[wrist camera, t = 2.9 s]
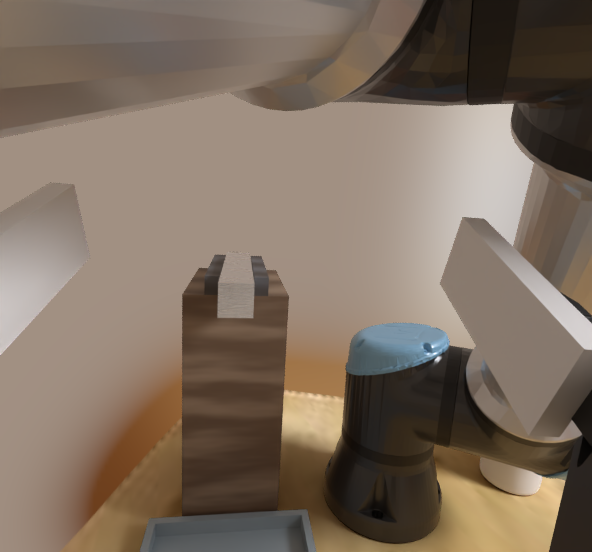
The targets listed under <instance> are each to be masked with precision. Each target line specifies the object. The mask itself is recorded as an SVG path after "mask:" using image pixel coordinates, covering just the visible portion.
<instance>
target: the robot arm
mask: <svg viewBox="0 0 592 552" xmlns="http://www.w3.org/2000/svg"><path fill="white" fill-rule="evenodd" d="M229 92H230V93H231V94H233V95H234V96H236V97H238V98H240V99H242V100H244V101H246V102H248V103H250V104H253V105H257V106H260V107H263V108H267V109H272V110H282V111H295V110H305V109H310V108H314V107H319V106H321V105H324V104H327V103H330V102H370V103H391V104H413V105H436V106H447V105H467V104H469V105H483V104H514V107H513V112H512V117H511V132H512V136H513V139H514V141H515V143H516V144H517V146H518V147H519V148H520V150H521V151H522V152H523V153H524V154H525V155H526V156H527V157H528V158H529V159H530V160H532V161H533V162H534V165H533V169H532V173H531V177H530V181H529V185H528V189H527V193H526V197H525V201H524V205H523V209H522V213H521V217H520V221H519V225H518V229H517V233H516V237H515V241H514V245H513V246H511V245H510V244H509V243H508V242H507V241H506V240H505V239H504V238H503V237H502V236H501V235H500V234H499V233H498V232H497V231H496V230H495V229H494V228H493V227H492V226H491V225H490V224H489V223H488V222H487V221H486V220H485V219H479V218H467V217H463V218H462V220H461V224H460V227H459V229H458V232H457V235H456V238H455V241H454V244H453V247H452V250H451V253H450V256H449V259H448V262H447V265H446V267H445V270H444V273H443V276H442V279H441V282H440V285H441V286H442V288H443V290H444V291H445V293H446V295H447V296H448V298H449V300H450V302H451V303H452V305H453V307H454V308H455V310H456V312H457V314H458V315H459V317H460V319H461V321H462V322H463V324H464V326H465V327H466V329H467V331H468V332H469V334H470V336H471V338H472V339H473V341H474V343H475V344H476V347H475V348H474V349H467V348H460V347H455V346H450V345H449V342H450V341H449V339H448V336H447V334H446V333H445V332H444V331H442V330H440V329H438V328H433V327H431V326H428V325H422V324H414V323H388V324H381V325H375V326H371V327H368V328H365V329H363V330H361V331H359V332H358V333H357V334H356V335H355V336H354V337H353V338H352V340H351V343H350V350H349V356H348V362H347V363H346V385H345V397H344V410H343V423H342V434H341V437H340V439H339V441H338V444H337V446H336V449H335V452H334V455H333V456H332V458H331V459H330V461H329V463H328V465H327V468H326V472H325V481H324V494H325V498H326V501H327V503H328V505H329V507H330V509H331V510H332V512H333V513H334V514H335V516H336V517H337V518H338V519H339V520H340V521H341V522H343V523H344V524H345V525H346V526H348V527H349V528H351V529H352V530H354V531H356V532H357V533H359V534H361V535H364V536H366V537H369V538H371V539H375V540H378V541H383V542H390V543H406V542H412V541H416V540H419V539H421V538H423V537H425V536H427V535H428V534H430V533H431V532H432V531H433V530H434V528H435V527H436V526H437V524H438V521H439V518H440V511H441V504H442V494H441V489H440V485H439V483H438V481H437V473H436V467H435V462H434V457H433V449H434V444H437V445H441V446H445V447H449V448H452V449H455V450H459V451H462V452H466V453H469V454H473V455H476V456H480V457H483V458H487V459H490V460H493V461H497V462H500V463H504V464H507V465H511V466H514V467H518V468H521V469H525V470H528V471H532V472H534V473H535V474H537V475H540V476H542V477H546V478H558V479H562V480H566V482H565V486H564V490H563V495H562V499H561V503H560V507H559V512H558V516H557V520H556V524H555V529H554V533H553V537H552V541H551V546H550V550H549V552H592V0H0V138H3V137H8V136H13V135H18V134H23V133H28V132H33V131H38V130H42V129H48V128H53V127H58V126H63V125H68V124H73V123H78V122H83V121H88V120H93V119H98V118H103V117H108V116H113V115H119V114H124V113H128V112H133V111H139V110H144V109H148V108H153V107H159V106H163V105H169V104H173V103H179V102H184V101H189V100H194V99H199V98H204V97H209V96H214V95H219V94H224V93H229ZM89 258H90V255H89V250H88V245H87V241H86V236H85V232H84V227H83V223H82V218H81V214H80V209H79V204H78V200H77V195H76V191H75V186H74V185H73V184H61V183H49V184H47V185H46V186H44V187H42V188H40V189H39V190H37V191H36V192H34V193H32V194H31V195H29V196H27V197H26V198H24V199H22V200H21V201H19V202H17V203H16V204H14V205H12V206H11V207H9V208H7V209H6V210H4V211H3V212H1V213H0V355H1V354H2V353H3V352H4V351H5V350H6V349H7V347H8V346H9V345H10V344H11V343H12V342H13V341H14V339H16V338H17V337H18V335H19V334H20V333H21V332H22V331H23V330H24V329H25V328H26V327H27V326H28V325H29V324H30V322H31V321H32V320H33V319H34V318H35V317H36V316H37V315H38V314H39V313H40V312H41V310H42V309H43V308H44V307H45V306H46V305H47V304H48V303H49V302H50V301H51V300H52V298H53V297H54V296H55V295H56V294H57V293H58V292H59V291H60V290H61V289H62V288H63V286H64V285H65V284H66V283H67V282H68V281H69V280H70V279H71V277H73V275H74V274H75V273H76V272H77V271H78V270H79V269H80V268H81V267H82V266H83V265H84V264H85V263H86V261H87V260H88V259H89Z"/></svg>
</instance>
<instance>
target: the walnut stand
mask: <svg viewBox="0 0 592 552" xmlns="http://www.w3.org/2000/svg"><path fill="white" fill-rule="evenodd" d="M225 257H226V255H215V256H214V258H213V260H212V262H211V264H210V266H209V268H199V269H198V271H197V272H196V274H195V275H194V277H193V279H192V280H191V282H190V283H189V285H188V287H187V288H186V290H185V291H184V293H183V295H182V297H183V298H182V299H183V303H182V304H183V306H182V307H183V308H182V309H183V310H182V311H183V312H182V315H183V317H182V321H183V322H182V331H183V333H182V516H198V515H215V514H232V513H249V512H266V511H277V508H278V489H279V470H280V451H281V433H282V414H283V395H284V376H285V357H286V338H287V320H288V300H289V296H288V294H287V292H286V290H285V288H284V286H283V284H282V282H281V280H280V278H279V276H278V274H277V272H276V271H274V270H266V268H265V265H264V262H263V260H262V257H261V256H251V264H252V271H253V277H254V283H255V285H254V313H253V318H217V314H218V281H219V278H220V275H221V271H222V268H223V264H224V261H225Z"/></svg>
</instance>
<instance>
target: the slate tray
mask: <svg viewBox="0 0 592 552" xmlns="http://www.w3.org/2000/svg"><path fill="white" fill-rule="evenodd" d="M140 552H316V548H315V543H314V539H313V534H312V529H311V525H310V520H309V515H308V510H307V509H300V510H283V511H266V512H249V513H232V514H215V515H198V516H181V517H164V518H149V521H148V524H147V528H146V531H145V535H144V538H143V542H142V545H141V549H140Z"/></svg>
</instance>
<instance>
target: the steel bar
mask: <svg viewBox="0 0 592 552" xmlns="http://www.w3.org/2000/svg"><path fill="white" fill-rule="evenodd" d="M254 285H255V283H254V277H253V271H252V264H251V258H250V253H243V252H227V254H226V257H225V261H224V264H223V268H222V271H221V275H220V278H219V281H218V314H217V318H253V313H254Z"/></svg>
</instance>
